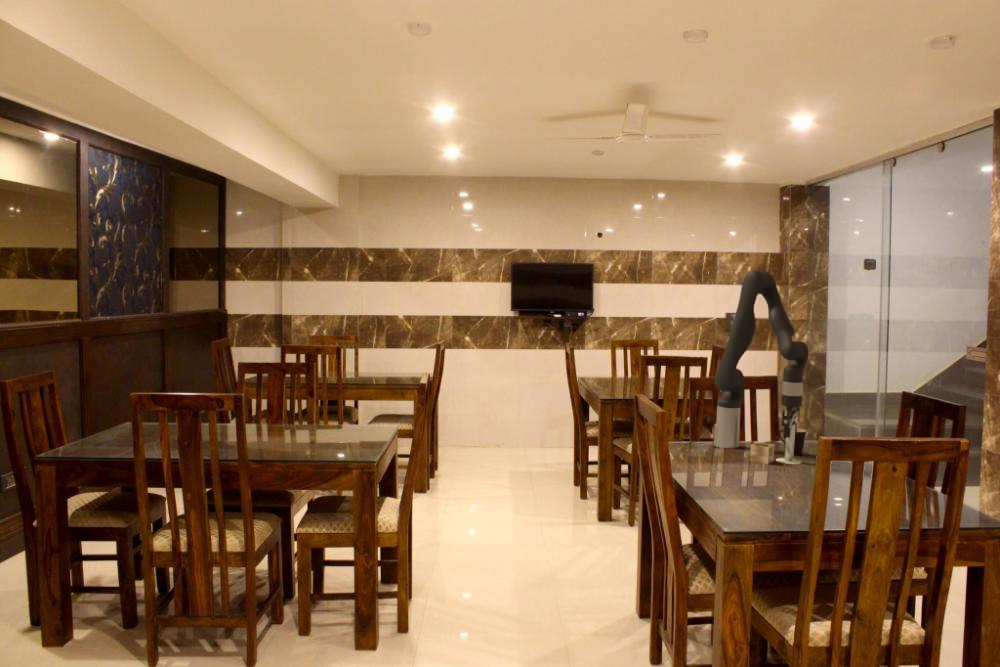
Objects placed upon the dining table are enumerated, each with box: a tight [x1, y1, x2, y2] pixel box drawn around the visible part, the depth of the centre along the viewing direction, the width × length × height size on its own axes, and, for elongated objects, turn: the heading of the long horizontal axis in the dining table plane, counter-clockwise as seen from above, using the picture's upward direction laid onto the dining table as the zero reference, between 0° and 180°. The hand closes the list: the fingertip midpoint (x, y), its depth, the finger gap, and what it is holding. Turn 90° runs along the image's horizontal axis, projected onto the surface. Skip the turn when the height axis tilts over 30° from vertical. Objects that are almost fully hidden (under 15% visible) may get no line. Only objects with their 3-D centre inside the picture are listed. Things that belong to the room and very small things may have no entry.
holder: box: [749, 442, 775, 465], centre depth 275 cm, size 7×7×7 cm
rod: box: [784, 424, 797, 462], centre depth 275 cm, size 3×3×14 cm
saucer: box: [775, 457, 802, 465], centre depth 275 cm, size 9×9×1 cm
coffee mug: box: [778, 427, 807, 457], centre depth 292 cm, size 12×9×10 cm
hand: (789, 435), depth 275 cm, fingers open, 8 cm apart
